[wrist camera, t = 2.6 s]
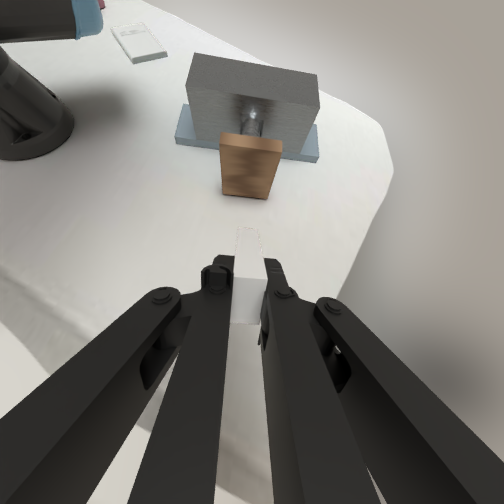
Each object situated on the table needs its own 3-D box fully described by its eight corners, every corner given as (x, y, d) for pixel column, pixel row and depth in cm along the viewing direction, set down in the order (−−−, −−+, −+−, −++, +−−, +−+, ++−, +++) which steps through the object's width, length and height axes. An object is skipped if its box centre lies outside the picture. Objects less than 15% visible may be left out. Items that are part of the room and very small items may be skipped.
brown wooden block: (222, 193, 31) (219, 143, 22) (229, 144, 35) (228, 83, 26) (267, 198, 32) (282, 152, 23) (268, 150, 36) (282, 93, 26)
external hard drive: (134, 67, 41) (113, 36, 43) (168, 59, 43) (146, 31, 45) (130, 58, 39) (109, 26, 42) (166, 50, 41) (143, 21, 44)
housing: (176, 143, 34) (156, 80, 25) (185, 111, 37) (169, 44, 28) (315, 162, 37) (344, 111, 27) (313, 131, 40) (339, 75, 30)
